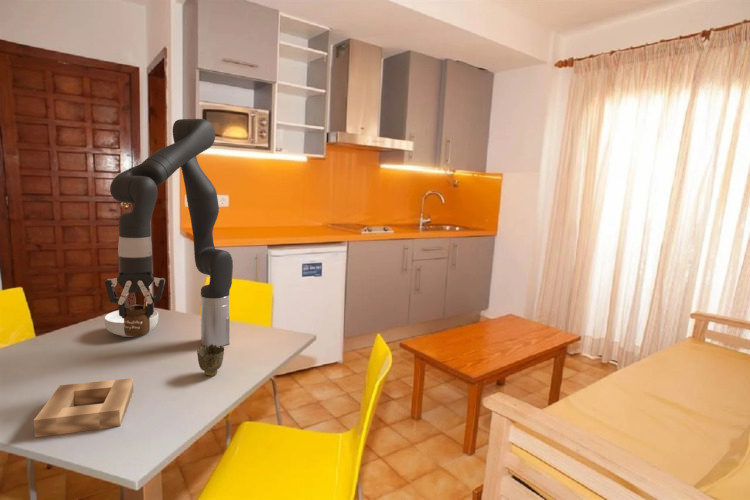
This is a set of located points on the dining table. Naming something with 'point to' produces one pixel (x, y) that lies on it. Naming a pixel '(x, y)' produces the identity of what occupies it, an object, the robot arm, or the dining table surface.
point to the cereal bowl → (117, 323)
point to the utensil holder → (136, 319)
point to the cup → (210, 359)
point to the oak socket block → (84, 407)
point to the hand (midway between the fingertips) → (136, 316)
